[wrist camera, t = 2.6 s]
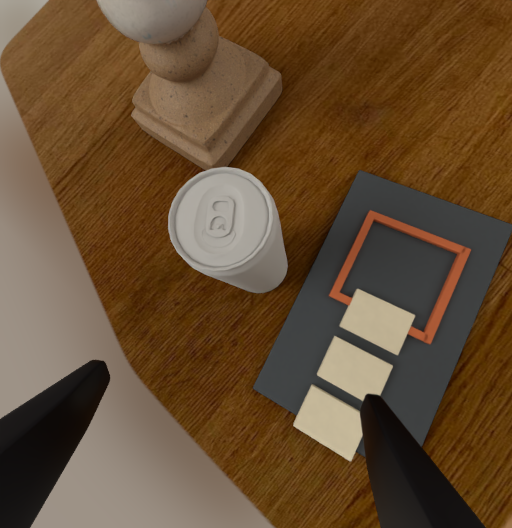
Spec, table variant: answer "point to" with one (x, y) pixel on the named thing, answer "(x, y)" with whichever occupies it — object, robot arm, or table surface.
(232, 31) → the table surface
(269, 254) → the beverage can
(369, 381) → the word mat
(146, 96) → the candle holder
